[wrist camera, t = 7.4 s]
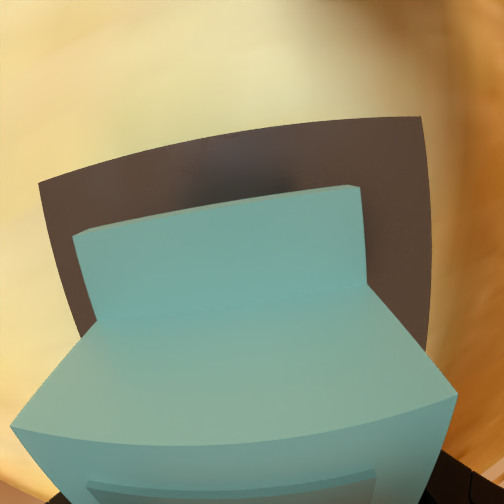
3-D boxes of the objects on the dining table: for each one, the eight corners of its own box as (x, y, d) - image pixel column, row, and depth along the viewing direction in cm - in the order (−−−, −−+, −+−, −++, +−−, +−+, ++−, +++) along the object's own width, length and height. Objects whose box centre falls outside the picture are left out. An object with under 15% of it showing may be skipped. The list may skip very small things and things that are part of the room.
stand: (391, 123, 14) (420, 116, 11) (395, 395, 18) (412, 425, 15) (71, 178, 14) (38, 182, 11) (151, 426, 18) (140, 458, 15)
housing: (349, 497, 10) (370, 587, 5) (204, 512, 10) (194, 601, 6) (348, 184, 7) (490, 226, 2) (88, 229, 7) (-60, 306, 2)
